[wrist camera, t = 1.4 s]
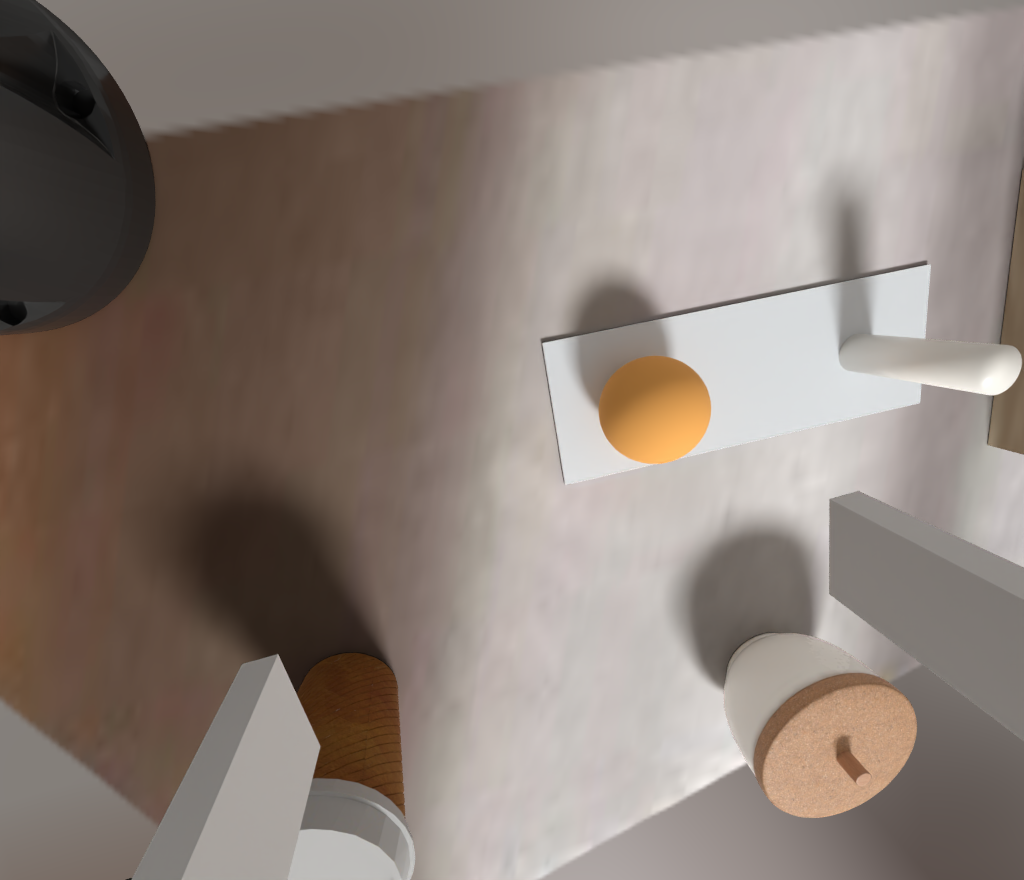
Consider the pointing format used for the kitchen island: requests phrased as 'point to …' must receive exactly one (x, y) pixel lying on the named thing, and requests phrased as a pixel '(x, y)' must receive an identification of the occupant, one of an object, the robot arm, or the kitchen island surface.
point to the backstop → (1020, 409)
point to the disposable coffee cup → (354, 775)
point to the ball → (654, 409)
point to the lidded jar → (815, 723)
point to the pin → (934, 362)
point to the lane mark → (744, 365)
